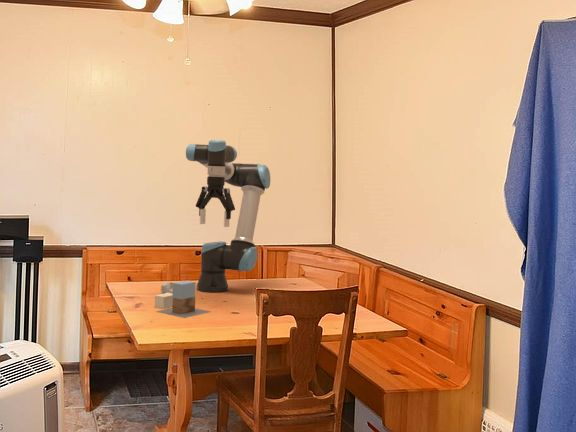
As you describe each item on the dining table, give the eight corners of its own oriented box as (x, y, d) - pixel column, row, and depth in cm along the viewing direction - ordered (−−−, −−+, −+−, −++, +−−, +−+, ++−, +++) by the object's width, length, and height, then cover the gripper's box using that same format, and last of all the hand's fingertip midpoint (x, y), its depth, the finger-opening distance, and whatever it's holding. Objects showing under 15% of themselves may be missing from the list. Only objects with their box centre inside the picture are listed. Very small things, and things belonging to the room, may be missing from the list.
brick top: (185, 294, 287) (186, 280, 286) (195, 296, 284) (195, 282, 284) (172, 297, 280) (172, 282, 280) (181, 299, 278) (181, 284, 277)
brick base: (185, 309, 288) (186, 294, 287) (194, 311, 285) (195, 296, 284) (172, 312, 281) (172, 297, 281) (181, 314, 278) (181, 299, 278)
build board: (182, 307, 294) (182, 305, 294) (211, 314, 285) (211, 311, 285) (155, 313, 281) (155, 311, 281) (184, 320, 272) (184, 318, 272)
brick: (168, 306, 296) (168, 292, 296) (176, 308, 293) (177, 294, 293) (154, 309, 290) (155, 295, 289) (163, 311, 287) (163, 297, 286)
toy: (151, 287, 296) (168, 274, 310) (158, 313, 299) (175, 298, 312) (163, 287, 294) (181, 273, 307) (170, 312, 297) (187, 298, 310)
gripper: (188, 174, 303) (187, 223, 304) (233, 177, 289) (231, 228, 290) (200, 174, 309) (198, 222, 311) (244, 177, 295) (242, 227, 297)
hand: (214, 225), depth 301 cm, fingers open, 13 cm apart
